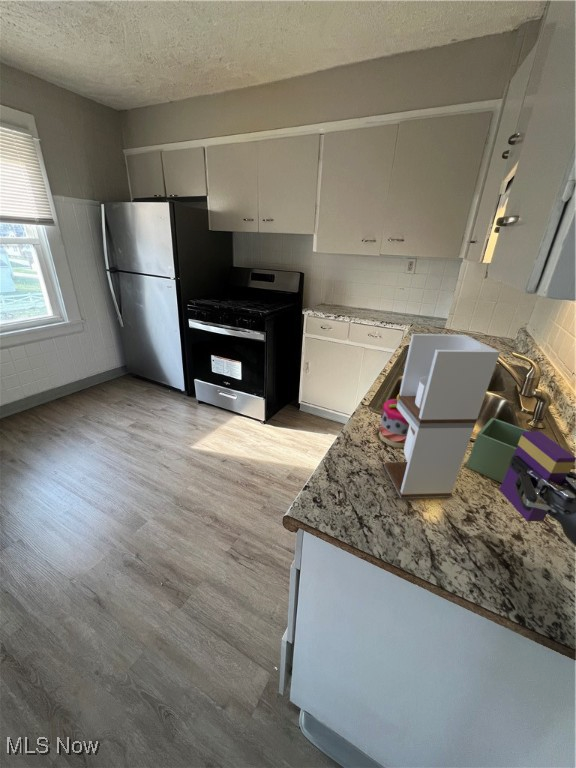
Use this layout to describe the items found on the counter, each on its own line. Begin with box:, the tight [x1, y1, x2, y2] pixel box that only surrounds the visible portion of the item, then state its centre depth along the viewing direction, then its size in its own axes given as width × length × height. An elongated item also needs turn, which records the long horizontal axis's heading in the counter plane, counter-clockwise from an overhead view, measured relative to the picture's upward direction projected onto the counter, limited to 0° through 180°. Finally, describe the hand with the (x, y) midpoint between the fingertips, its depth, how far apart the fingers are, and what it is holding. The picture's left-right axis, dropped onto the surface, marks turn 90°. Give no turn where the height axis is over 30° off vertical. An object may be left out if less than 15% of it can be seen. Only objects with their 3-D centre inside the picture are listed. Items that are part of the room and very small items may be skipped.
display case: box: [383, 333, 501, 500], centre depth 67 cm, size 11×11×35 cm
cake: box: [378, 393, 410, 449], centre depth 87 cm, size 10×11×15 cm
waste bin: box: [466, 417, 529, 484], centre depth 77 cm, size 11×11×11 cm
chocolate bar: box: [499, 430, 576, 522], centre depth 52 cm, size 3×7×13 cm, turn 3°
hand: (522, 459), depth 54 cm, fingers closed on chocolate bar, 3 cm apart
